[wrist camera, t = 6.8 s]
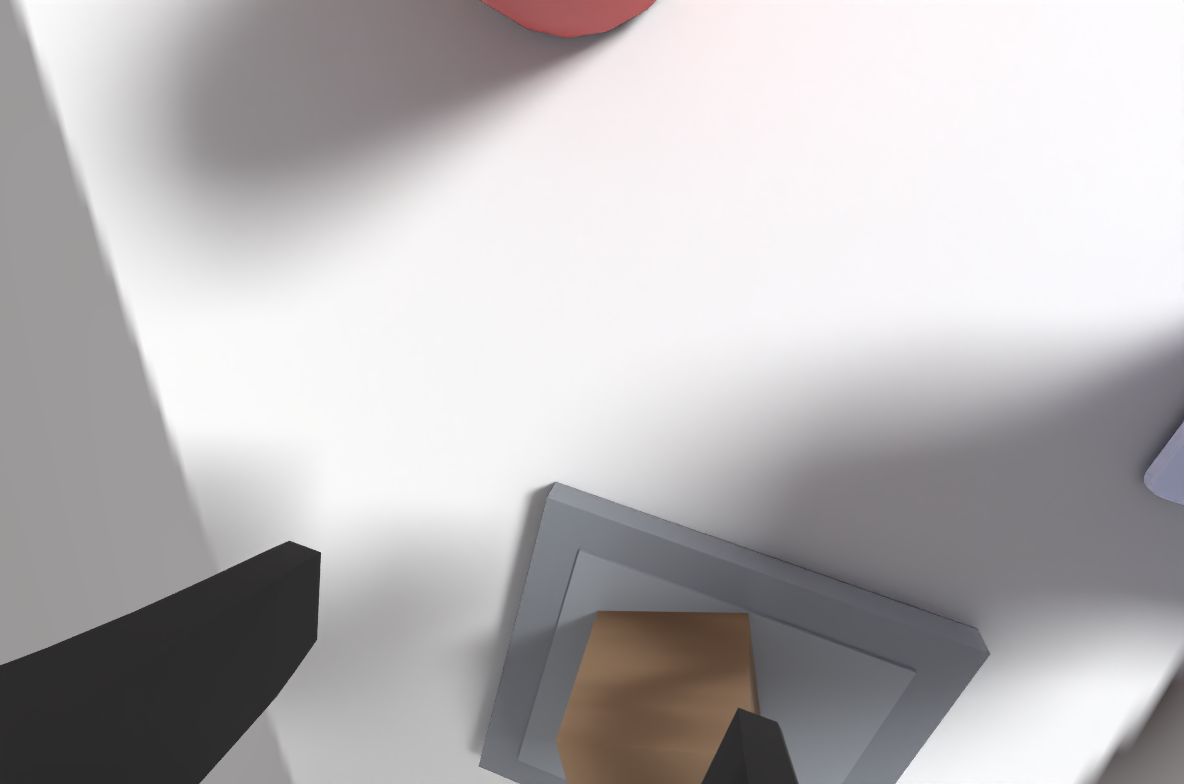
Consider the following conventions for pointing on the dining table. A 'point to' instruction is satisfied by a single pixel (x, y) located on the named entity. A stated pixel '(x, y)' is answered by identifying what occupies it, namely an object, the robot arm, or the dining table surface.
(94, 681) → the robot arm
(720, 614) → the walnut block
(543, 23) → the beer can
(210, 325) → the dining table surface
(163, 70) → the dining table surface
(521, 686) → the coaster
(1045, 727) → the dining table surface
